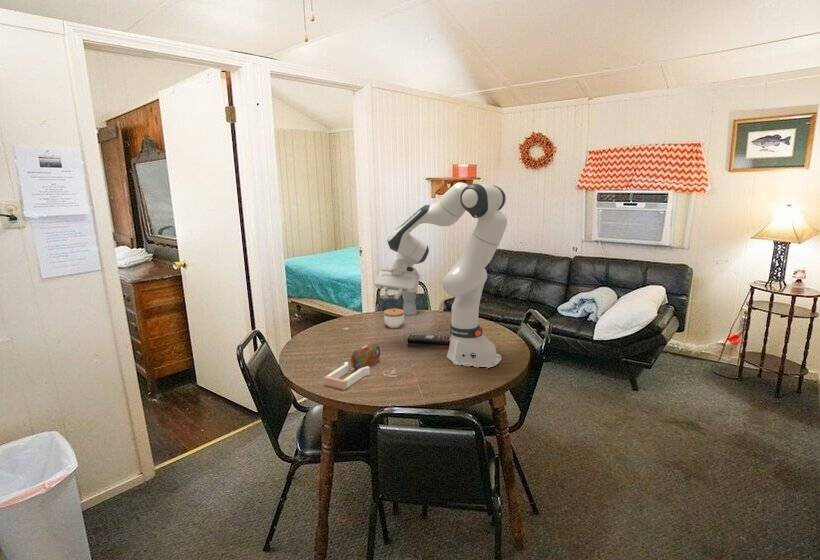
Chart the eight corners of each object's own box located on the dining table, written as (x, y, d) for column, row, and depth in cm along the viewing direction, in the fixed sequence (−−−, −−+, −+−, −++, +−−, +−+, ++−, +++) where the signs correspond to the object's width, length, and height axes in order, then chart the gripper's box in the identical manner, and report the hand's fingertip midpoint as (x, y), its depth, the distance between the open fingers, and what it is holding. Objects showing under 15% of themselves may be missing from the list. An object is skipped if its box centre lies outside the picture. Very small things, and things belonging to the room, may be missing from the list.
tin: (355, 373, 169) (355, 353, 168) (349, 371, 171) (349, 351, 169) (381, 360, 181) (380, 341, 179) (375, 359, 183) (375, 340, 181)
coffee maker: (423, 314, 244) (423, 282, 240) (411, 317, 238) (411, 285, 234) (404, 308, 254) (404, 278, 250) (393, 311, 248) (392, 280, 244)
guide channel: (371, 374, 169) (370, 366, 168) (347, 390, 155) (347, 383, 155) (345, 368, 174) (345, 361, 173) (321, 384, 161) (320, 376, 160)
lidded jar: (380, 324, 227) (380, 307, 224) (399, 321, 231) (399, 304, 229) (388, 330, 217) (388, 312, 215) (408, 327, 221) (407, 309, 219)
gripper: (378, 265, 197) (367, 291, 191) (419, 269, 188) (408, 296, 182) (383, 273, 202) (372, 298, 196) (423, 277, 193) (413, 304, 186)
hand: (390, 297), depth 189 cm, fingers open, 4 cm apart
